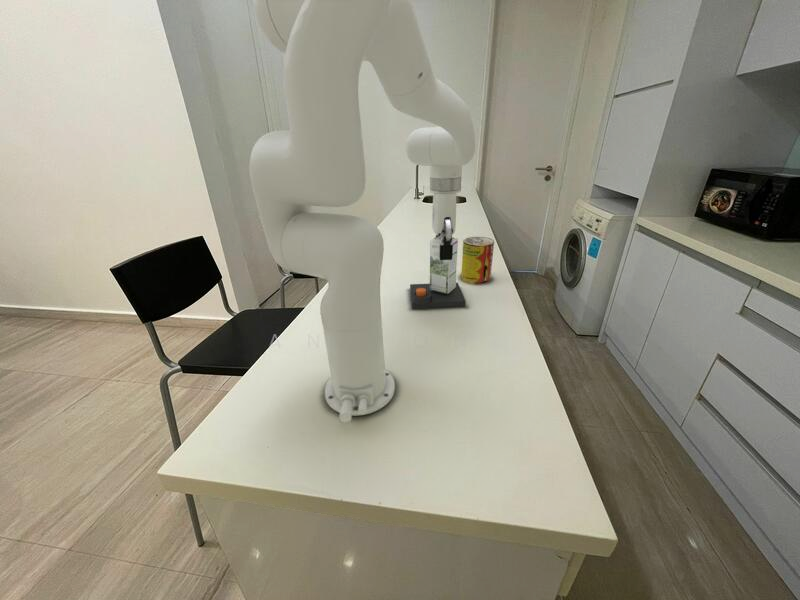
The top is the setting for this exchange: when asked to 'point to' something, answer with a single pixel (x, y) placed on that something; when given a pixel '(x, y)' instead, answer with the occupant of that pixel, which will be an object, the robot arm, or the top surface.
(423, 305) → the scale
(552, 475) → the top surface
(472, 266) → the yellow red tin can
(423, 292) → the button
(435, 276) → the syrup box
